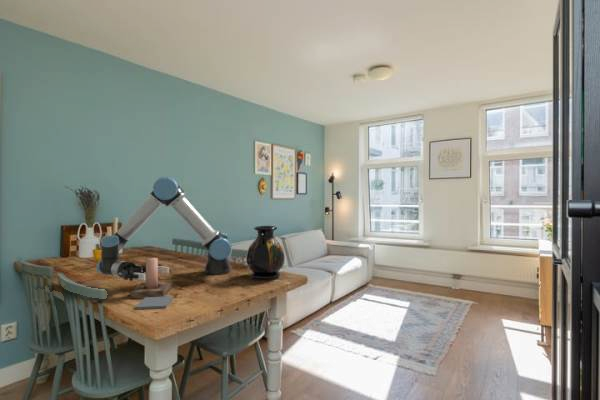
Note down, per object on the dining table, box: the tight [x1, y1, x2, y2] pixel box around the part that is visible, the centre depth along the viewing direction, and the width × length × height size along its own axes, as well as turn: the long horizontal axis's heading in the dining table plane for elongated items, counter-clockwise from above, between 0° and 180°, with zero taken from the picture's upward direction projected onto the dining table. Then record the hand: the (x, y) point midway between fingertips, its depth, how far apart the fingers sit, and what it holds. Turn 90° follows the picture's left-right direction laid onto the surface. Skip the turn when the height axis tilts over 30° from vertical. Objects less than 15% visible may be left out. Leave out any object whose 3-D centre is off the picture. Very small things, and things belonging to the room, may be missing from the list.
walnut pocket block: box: [129, 281, 173, 299], centre depth 147 cm, size 14×14×3 cm
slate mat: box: [134, 295, 175, 310], centre depth 133 cm, size 12×12×1 cm
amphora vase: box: [245, 225, 286, 281], centre depth 177 cm, size 22×22×28 cm
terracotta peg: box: [145, 257, 159, 289], centre depth 147 cm, size 5×5×16 cm
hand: (157, 273), depth 146 cm, fingers open, 13 cm apart
